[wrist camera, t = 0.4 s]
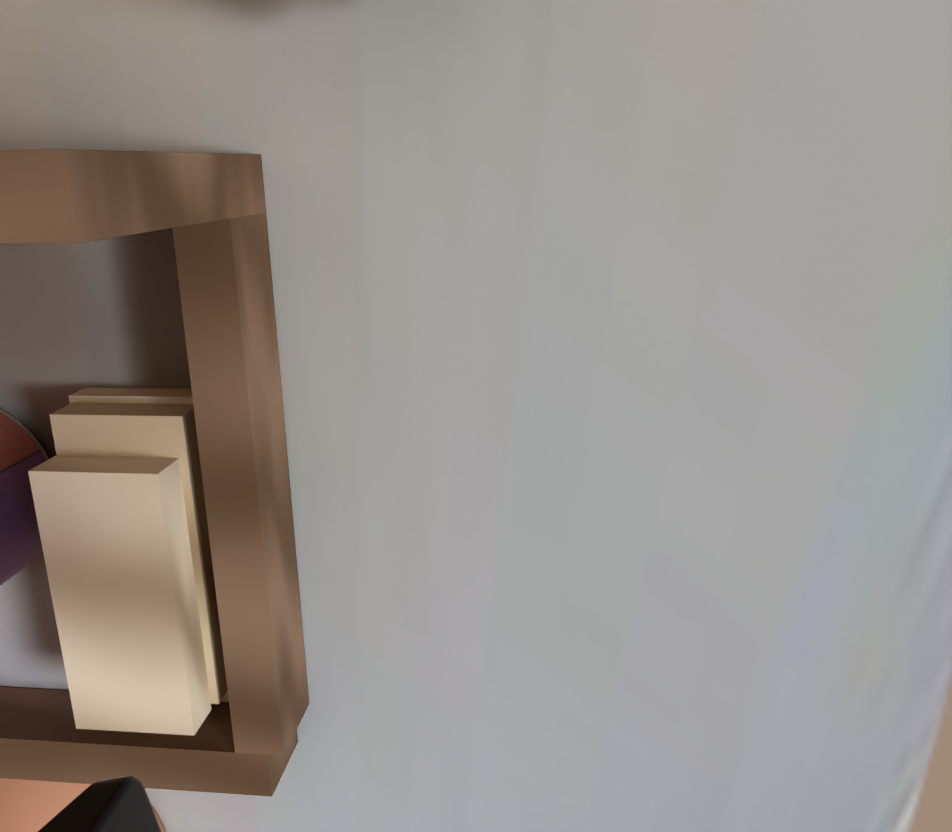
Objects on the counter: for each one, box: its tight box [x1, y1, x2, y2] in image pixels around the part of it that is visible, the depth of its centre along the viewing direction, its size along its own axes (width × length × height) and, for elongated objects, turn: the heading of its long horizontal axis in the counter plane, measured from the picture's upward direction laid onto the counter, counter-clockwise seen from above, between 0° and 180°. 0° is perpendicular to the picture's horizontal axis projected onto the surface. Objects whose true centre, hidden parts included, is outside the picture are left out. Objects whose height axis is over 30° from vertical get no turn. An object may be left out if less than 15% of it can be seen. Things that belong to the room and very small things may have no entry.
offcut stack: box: [28, 388, 229, 736], centre depth 24 cm, size 10×4×4 cm, turn 1°
